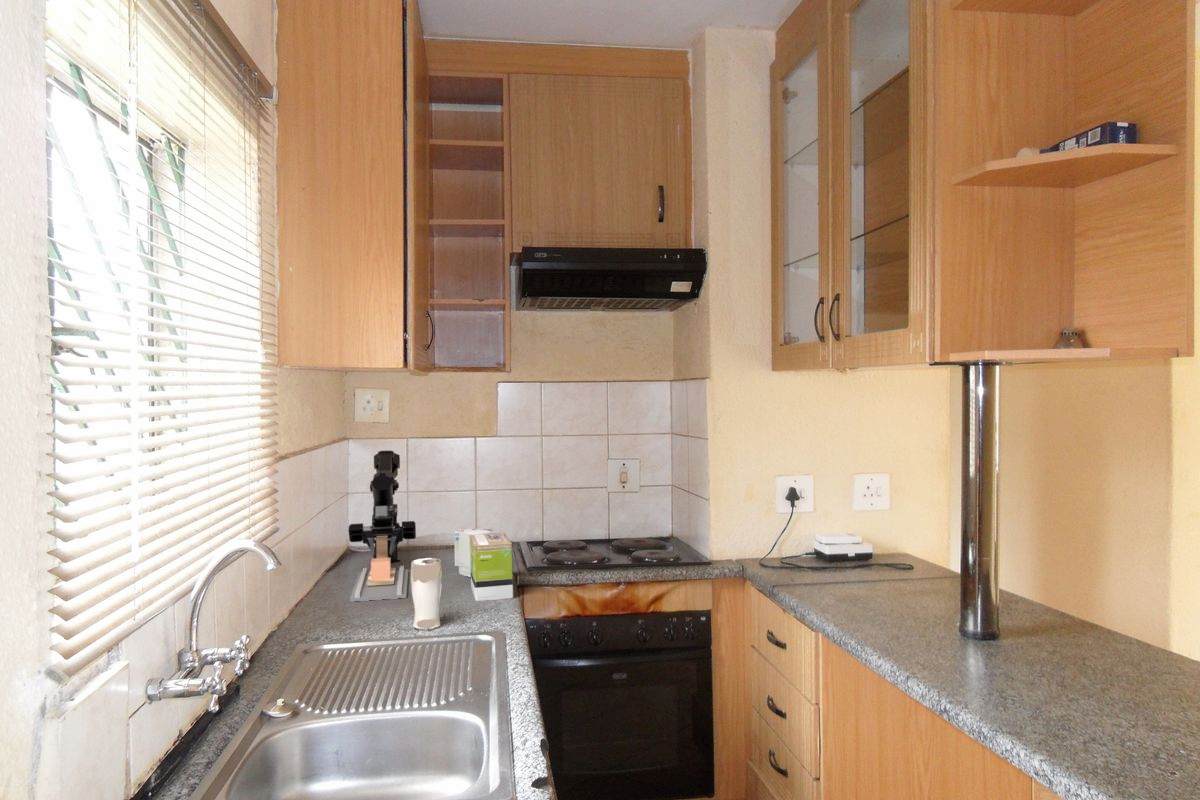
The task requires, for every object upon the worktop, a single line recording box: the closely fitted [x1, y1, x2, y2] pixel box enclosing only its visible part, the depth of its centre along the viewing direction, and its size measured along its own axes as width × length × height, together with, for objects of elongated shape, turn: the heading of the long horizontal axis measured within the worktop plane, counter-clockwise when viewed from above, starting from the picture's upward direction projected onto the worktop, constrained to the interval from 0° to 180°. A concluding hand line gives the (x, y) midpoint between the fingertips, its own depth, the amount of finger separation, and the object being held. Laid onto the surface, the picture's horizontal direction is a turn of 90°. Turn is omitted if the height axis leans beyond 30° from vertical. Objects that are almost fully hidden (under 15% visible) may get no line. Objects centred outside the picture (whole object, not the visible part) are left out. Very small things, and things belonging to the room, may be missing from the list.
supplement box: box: [458, 528, 493, 578], centre depth 228 cm, size 7×7×13 cm
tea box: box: [470, 532, 514, 602], centre depth 206 cm, size 15×10×15 cm, turn 14°
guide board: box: [349, 565, 409, 603], centre depth 215 cm, size 30×14×2 cm, turn 13°
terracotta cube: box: [370, 557, 392, 581], centre depth 215 cm, size 5×5×5 cm
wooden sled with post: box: [367, 536, 397, 586], centre depth 219 cm, size 16×7×11 cm, turn 13°
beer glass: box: [409, 557, 443, 629], centre depth 177 cm, size 7×7×15 cm
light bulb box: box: [453, 528, 493, 567], centre depth 241 cm, size 11×7×11 cm, turn 84°
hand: (382, 555), depth 221 cm, fingers open, 4 cm apart
